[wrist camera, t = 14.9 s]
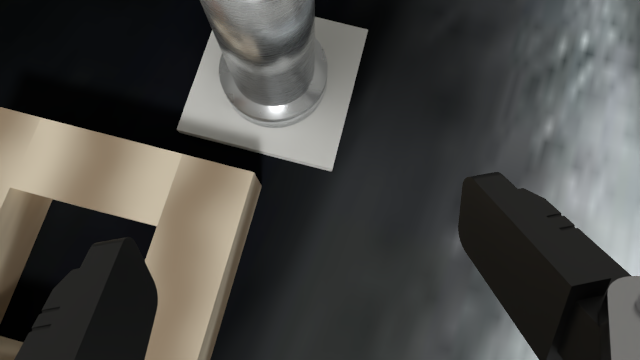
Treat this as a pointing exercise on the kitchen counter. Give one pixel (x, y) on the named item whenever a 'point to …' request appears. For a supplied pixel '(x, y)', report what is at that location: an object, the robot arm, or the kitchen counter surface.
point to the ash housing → (135, 204)
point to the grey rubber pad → (287, 142)
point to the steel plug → (269, 58)
